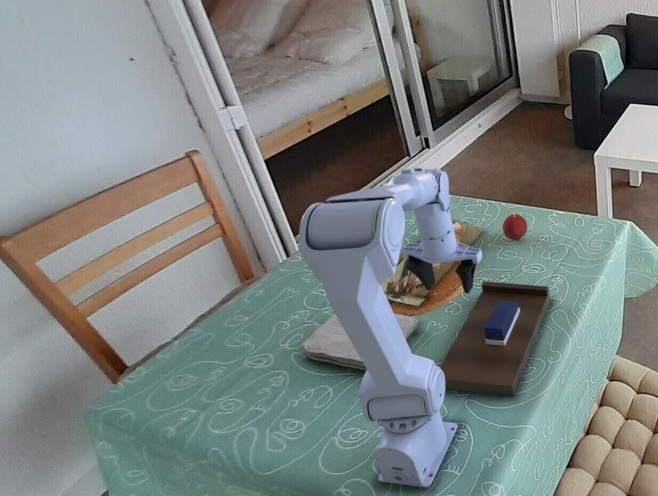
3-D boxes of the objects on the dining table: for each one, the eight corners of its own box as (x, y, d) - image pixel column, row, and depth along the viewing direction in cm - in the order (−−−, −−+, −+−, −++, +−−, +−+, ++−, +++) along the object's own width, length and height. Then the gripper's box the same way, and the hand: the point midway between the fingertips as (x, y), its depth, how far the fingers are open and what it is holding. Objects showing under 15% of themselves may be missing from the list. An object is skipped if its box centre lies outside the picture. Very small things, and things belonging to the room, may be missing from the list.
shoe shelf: (514, 396, 85) (511, 380, 83) (436, 388, 86) (431, 372, 84) (550, 300, 104) (548, 286, 102) (486, 295, 106) (483, 281, 104)
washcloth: (344, 310, 102) (340, 299, 101) (422, 324, 99) (419, 312, 98) (297, 358, 92) (292, 347, 91) (383, 375, 88) (378, 363, 87)
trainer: (504, 345, 91) (501, 330, 89) (485, 344, 91) (482, 328, 90) (520, 311, 98) (517, 295, 97) (502, 309, 99) (499, 294, 97)
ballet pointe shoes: (485, 206, 125) (419, 283, 100) (488, 227, 128) (425, 308, 103) (435, 199, 127) (359, 273, 103) (440, 220, 130) (367, 297, 105)
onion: (502, 236, 124) (498, 209, 120) (525, 230, 126) (522, 203, 123) (507, 249, 119) (503, 222, 116) (531, 243, 121) (527, 216, 118)
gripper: (484, 219, 91) (494, 276, 97) (409, 214, 93) (424, 270, 99) (467, 243, 85) (479, 303, 91) (388, 237, 87) (405, 296, 93)
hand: (450, 288), depth 95 cm, fingers open, 7 cm apart
